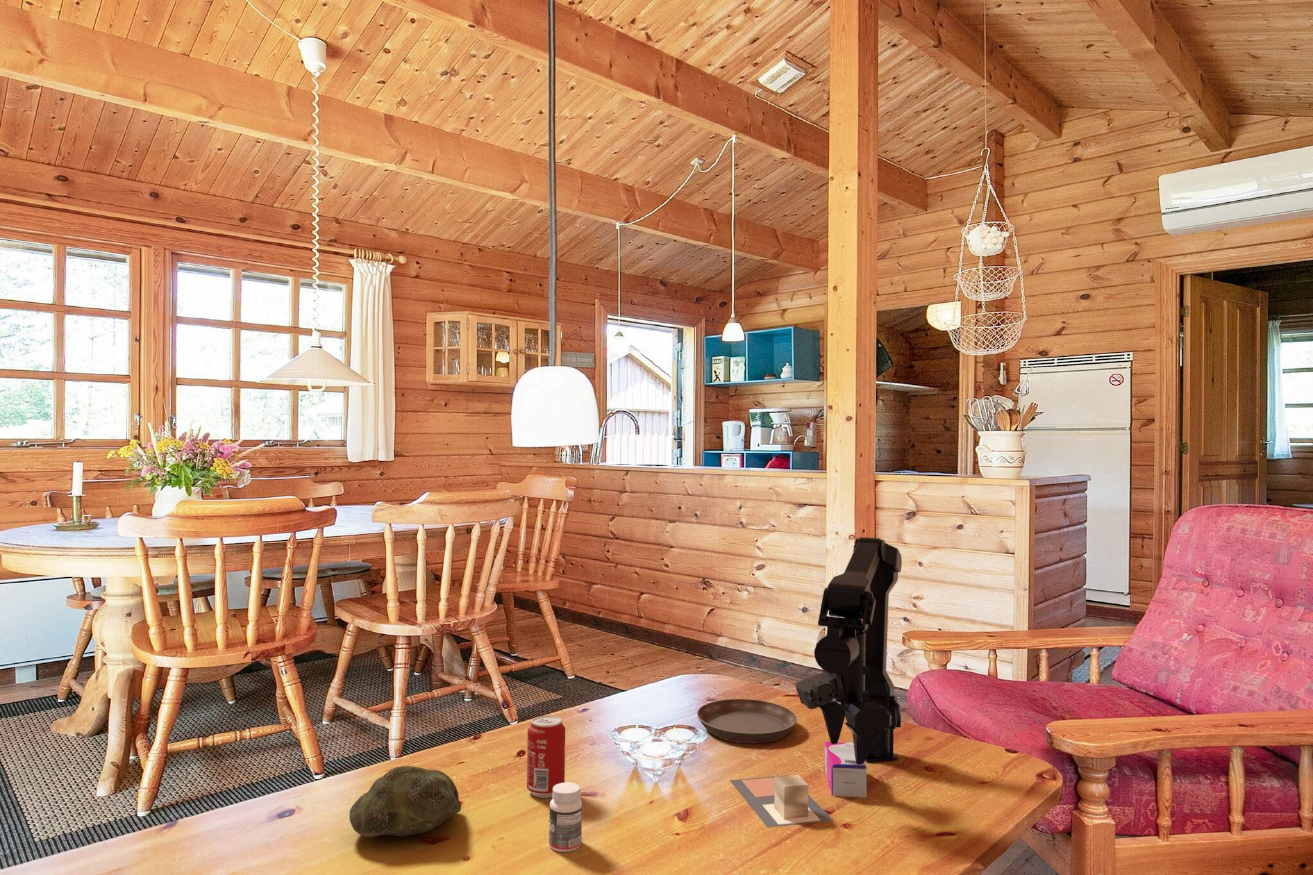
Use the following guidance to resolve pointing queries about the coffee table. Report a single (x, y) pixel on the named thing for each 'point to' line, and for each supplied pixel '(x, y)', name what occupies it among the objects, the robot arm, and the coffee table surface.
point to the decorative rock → (405, 803)
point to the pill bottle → (565, 818)
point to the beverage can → (545, 755)
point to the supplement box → (844, 770)
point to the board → (762, 802)
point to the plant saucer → (746, 720)
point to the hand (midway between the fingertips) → (846, 753)
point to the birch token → (791, 796)
